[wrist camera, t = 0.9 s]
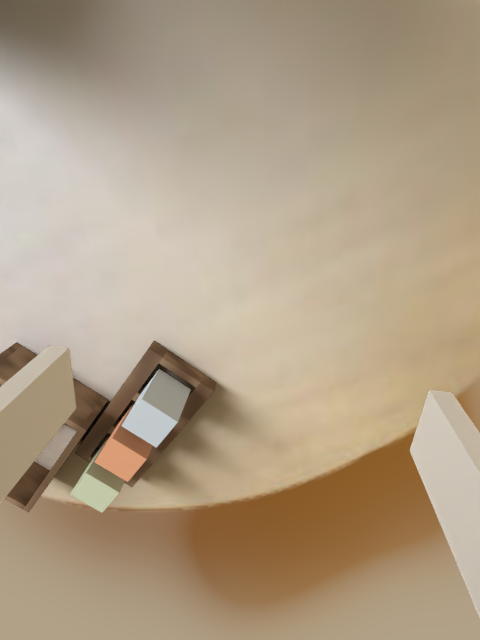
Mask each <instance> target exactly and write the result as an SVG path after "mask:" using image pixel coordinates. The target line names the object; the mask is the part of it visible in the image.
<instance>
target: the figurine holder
mask: <svg viewBox="0 0 480 640" xmlns="http://www.w3.org/2000/svg"><path fill="white" fill-rule="evenodd" d="M36 356H37V355H36V354H34V353H33V352H31V351H29V350H28V349H26V348H25V347H23V346H21V345H20V344H18V343H17V342H16V343H15V344H14V345H12V346H11V347H9V348H8V349H7V350H5V351H4V352H2V353H1V354H0V387H1V385H3V384H4V383H5V382H7V381H8V380H9V379H10V378H11V377H13V376H14V375H15V374H16V373H17V372H18V371H20V370H21V369H22V368H23V367H24V366H26V365H27V364H28V363H29V362H30V361H31V360H33V359H34V358H35V357H36ZM73 384H74V393H75V401H76V409H75V410H74V412H73V413H72V414H71V416H70V417H69V418H68V419H67V421H66V422H65V424H67V425H68V426H70V427H72V428H73V429H75V430H77V432H76V434H75V435H74V437H73V438H72V440H71V441H70V443H69V444H68V446H67V447H66V448H65V450H64V451H63V453H62V454H61V456H60V457H59V459H58V460H57V461H56V463H55V464H54V466H53V467H52V469H51V470H50V471H49V470H47V469H45V468H43V467H42V466H40V465H38V464H36V463H35V462H33V463H32V465H31V466H30V467H29V468H28V470H27V471H26V472H25V473H24V475H23V476H22V477H21V478H20V480H19V481H18V482H17V484H16V485H15V486H14V487H13V489H12V490H11V491H10V492H9V494H8V495H7V496H6V497H5V500H7V501H9V502H11V503H13V504H15V505H16V506H18V507H20V508H22V509H24V510H25V511H27V512H30V510H31V509H32V507H33V506H34V504H35V503H36V502H37V500H38V499H39V497H40V496H41V495H42V493H43V492H44V490H45V489H46V488H47V486H48V485H49V483H50V482H51V481H52V479H53V478H54V476H55V475H56V473H57V472H58V471H59V469H60V468H61V466H62V465H63V464H64V462H65V461H66V459H67V458H68V456H69V455H70V454H71V452H72V451H73V449H74V448H75V446H76V445H77V444H78V442H79V441H80V439H81V438H82V437H83V435H84V434H85V432H86V431H87V429H88V428H89V427H90V425H91V424H92V422H93V421H94V419H95V418H96V417H97V415H98V414H99V412H100V411H101V410H102V408H103V407H104V405H105V404H106V402H107V401H108V400H107V399H106V398H104V397H103V396H101V395H99V394H98V393H96V392H95V391H93V390H91V389H90V388H88V387H87V386H85V385H83V384H82V383H80V382H79V381H77V380H76V379H74V378H73Z"/></svg>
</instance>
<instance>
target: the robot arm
mask: <svg viewBox="0 0 480 640" xmlns="http://www.w3.org/2000/svg"><path fill="white" fill-rule="evenodd" d="M75 409H76V401H75V393H74V384H73V376H72V367H71V359H70V350H69V348H68V347H60V346H51V345H49V346H48V347H47V348H46V349H44V350H43V351H42V352H41V353H40V354H39V355H37V356H36V357H35V358H34V359H33V360H31V361H30V362H29V363H28V364H27V365H26V366H24V367H23V368H22V369H21V370H20V371H18V372H17V373H16V374H15V375H14V376H13V377H11V378H10V379H9V380H8V381H7V382H5V383H4V384H3V385H2V386H1V387H0V503H1V502H2V501H3V500H4V499H5V497H6V496H7V495H8V494H9V492H10V491H11V490H12V489H13V487H14V486H15V485H16V484H17V482H18V481H19V480H20V478H21V477H22V476H23V475H24V473H25V472H26V471H27V470H28V468H29V467H30V466H31V465H32V463H33V462H34V461H35V460H36V458H37V457H38V456H39V455H40V453H41V452H42V451H43V450H44V448H45V447H46V446H47V444H48V443H49V442H50V441H51V439H52V438H53V437H54V436H55V434H56V433H57V432H58V431H59V429H60V428H61V427H62V426H63V424H64V423H65V422H66V421H67V419H68V418H69V417H70V416H71V414H72V413H73V412H74V410H75ZM410 452H411V455H412V457H413V459H414V462H415V464H416V467H417V469H418V472H419V474H420V476H421V479H422V481H423V484H424V486H425V488H426V491H427V493H428V496H429V498H430V500H431V503H432V505H433V508H434V510H435V512H436V515H437V517H438V520H439V522H440V524H441V527H442V529H443V531H444V534H445V536H446V539H447V541H448V543H449V546H450V548H451V551H452V553H453V556H454V558H455V560H456V563H457V565H458V568H459V570H460V572H461V575H462V577H463V580H464V582H465V584H466V586H467V589H468V592H469V594H470V596H471V599H472V601H473V604H474V606H475V608H476V611H477V613H478V615H479V618H480V433H479V431H478V430H477V429H476V427H475V426H474V424H473V423H472V421H471V420H470V418H469V417H468V415H467V414H466V413H465V411H464V410H463V408H462V407H461V405H460V404H459V402H458V401H457V399H456V398H455V396H454V395H453V394H452V392H443V391H435V390H429V393H428V396H427V399H426V402H425V405H424V408H423V411H422V414H421V417H420V420H419V424H418V427H417V430H416V433H415V436H414V439H413V442H412V445H411V448H410Z"/></svg>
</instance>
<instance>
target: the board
mask: <svg viewBox="0 0 480 640" xmlns="http://www.w3.org/2000/svg"><path fill="white" fill-rule="evenodd" d="M158 364H161V365H162V366H164V367H165V368H167V369H168V370H170V371H171V372H173V373H174V374H176V375H177V376H179V377H180V378H182V379H183V380H185V381H186V382H188V383H190V384H191V385H193V387H192V389H191V390H190V393H189V396H188V398H187V401H186V403H185V406H184V408H183V411H182V413H181V416H180V418H179V421H178V423H177V424H176V425H175V426H174V427H173V429H172V430H171V431H170V432H169V433H168V435H167V436H166V437H165V438H164V439H163V441H162V442H161V443H160V444H159V445H158V447H157V448H156V447H154V446H153V447H152V449H151V451H150V453H149V456H148V458H147V460H146V461H145V462H144V463H143V465H142V466H141V467H140V468H139V469H138V471H137V472H136V473H135V474H134V475H133V476H132V478H131V479H130V480H129V481H128V482H127V481H124V483H126V484H127V485H129V486H131V487H133V486H134V485H135V483H136V482H137V481H138V480H139V479H140V478H141V476H142V475H143V474H144V473H145V472H146V470H147V469H148V468H149V467H150V466H151V465H152V463H153V462H154V461H155V460H156V459H157V458H158V456H159V455H160V454H161V453H162V452H163V450H164V449H165V448H166V447H167V446H168V445H169V443H170V442H171V441H172V440H173V439H174V438H175V436H176V435H177V434H178V433H179V432H180V431H181V429H182V428H183V427H184V426H185V425H186V423H187V422H188V421H189V420H190V419H191V418H192V416H193V415H194V414H195V413H196V412H197V411H198V409H199V408H200V407H201V406H202V405H203V403H204V402H205V401H206V400H207V399H208V398H209V396H210V395H211V394H212V393H213V392H214V389H215V385H216V382H215V381H214V380H212V379H211V378H209V377H208V376H206V375H205V374H203V373H202V372H200V371H199V370H197V369H196V368H194V367H193V366H191V365H190V364H188V363H187V362H185V361H184V360H182V359H181V358H179V357H178V356H176V355H175V354H173V353H172V352H170V351H169V350H167V349H166V348H164V347H163V346H161V345H160V344H158V343H157V342H155V341H154V342H153V343H152V344H151V346H150V347H149V349H148V350H147V351H146V353H145V354H144V356H143V357H142V358H141V360H140V361H139V363H138V364H137V366H136V367H135V368H134V370H133V371H132V373H131V374H130V375H129V377H128V378H127V380H126V381H125V382H124V384H123V385H122V387H121V388H120V390H119V391H118V392H117V394H116V395H115V397H114V398H113V399H112V401H111V402H110V404H109V405H108V406H107V408H106V409H105V411H104V412H103V413H102V415H101V416H100V418H99V419H98V421H97V422H96V423H95V425H94V426H93V428H92V429H91V430H90V432H89V433H88V435H87V436H86V437H85V439H84V440H83V442H82V443H81V445H80V446H79V447H78V449H77V450H76V452H75V454H77V455H79V456H80V457H82V458H84V459H85V460H87V461H89V462H91V460H92V458H93V457H94V456H95V454H96V453H97V452H98V450H99V449H100V448H99V447H97V446H98V445H99V443H100V442H101V441H102V439H103V438H104V437H105V435H106V434H107V433H109V434H112V432H113V431H114V429H115V427H116V426H117V425H118V423H119V422H120V421H121V419H122V418H120V417H119V416H120V415H121V414H122V412H123V411H124V410H125V408H126V407H127V406H128V404H129V403H130V401H131V400H133V401H135V402H136V401H137V399H138V397H139V396H140V394H141V393H142V391H143V390H144V388H145V387H146V386H145V385H144V383H145V381H146V380H147V378H148V377H149V376H150V374H151V373H152V372H153V370H154V369H155V368H156V366H157V365H158Z"/></svg>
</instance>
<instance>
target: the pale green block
mask: <svg viewBox="0 0 480 640" xmlns="http://www.w3.org/2000/svg"><path fill="white" fill-rule="evenodd" d="M108 439H109V438H107V439H106V441H105V442H104V444H103V445H102V446H101V448H100V449H99V450H98V452H97V453H96V454H95V456H94V457H93V458H92V460H91V462H90V463H89V465H88V466H87V468H86V469H85V471H84V473H83V474H82V476H81V477H80V479H79V481H78V482H77V484H76V485H75V487H74V489H73V490H72V492H71V493H70V495H72V496H73V497H75V498H77V499H79V500H80V501H82V502H84V503H86V504H87V505H89V506H91V507H93V508H94V509H96V510H98V511H100V512H101V513H102V512H103V511H104V510H105V509H106V508H107V506H108V505H109V504H110V503H111V502H112V500H113V499H114V498H115V497H116V496H117V494H118V493H119V492H120V490H121V488H122V486H123V484H124V481H125V480H123V479H122V478H120V477H118V476H117V475H115V474H113V473H112V472H110V471H108V470H106V469H105V468H103V467H101V466H100V465H98V464H96V463H95V462H94V461H95V460H96V458H97V457H98V455H99V453H100V452H101V450H102V449H103V447H104V445H105V444H106V442H107V440H108Z"/></svg>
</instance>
